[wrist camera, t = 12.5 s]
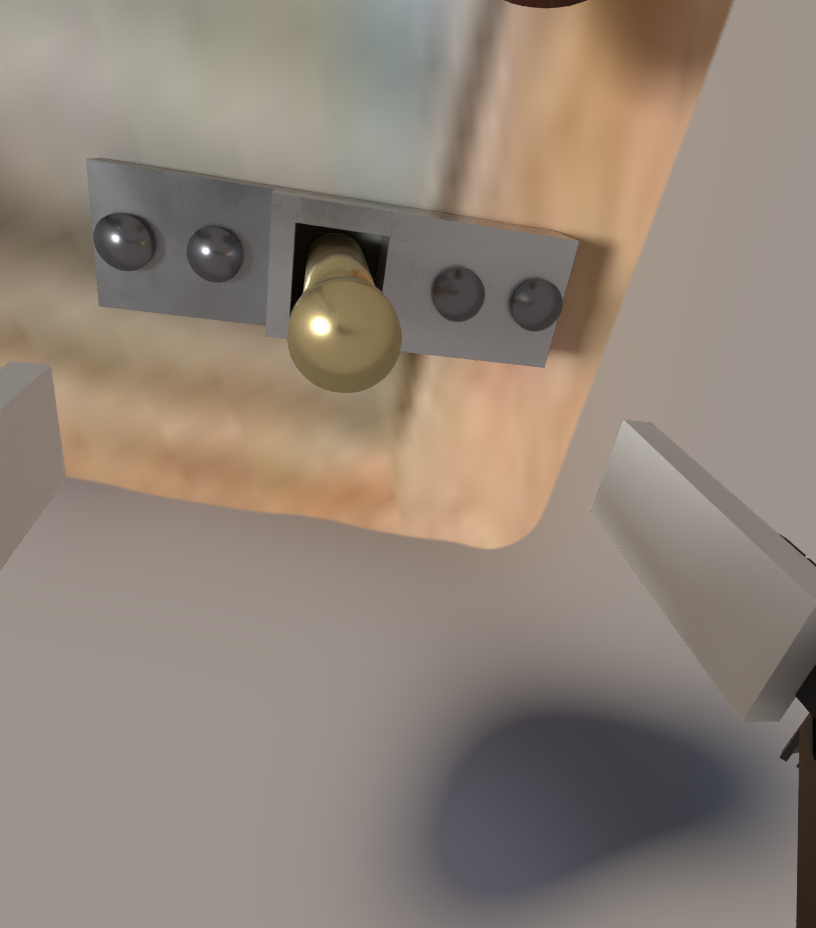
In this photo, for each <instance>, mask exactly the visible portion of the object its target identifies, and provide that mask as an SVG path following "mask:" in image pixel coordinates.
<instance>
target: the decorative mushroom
mask: <svg viewBox="0 0 816 928" xmlns="http://www.w3.org/2000/svg"><path fill="white" fill-rule="evenodd" d="M503 1H506V2H509V3H512V4H517V5H521V6H527V7H535V8H559V7H565V6H571V5H574V4H577V3H581V2H584V1H586V0H503Z"/></svg>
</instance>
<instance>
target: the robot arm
mask: <svg viewBox="0 0 816 928" xmlns="http://www.w3.org/2000/svg"><path fill="white" fill-rule="evenodd" d="M65 480H66V474H65V466H64V459H63V451H62V444H61V437H60V429H59V422H58V414H57V407H56V399H55V392H54V385H53V377H52V370H51V365H46V364H35V363H25V362H14V361H9V362H8V363H7V364H6V365H4V366H3V367H2V368H0V570H1V569H2V567H3V566H4V565H5V563H6V562H7V561H8V559H9V558H10V556H11V555H12V554H13V552H14V551H15V549H16V548H17V547H18V545H19V544H20V542H21V541H22V540H23V538H24V537H25V535H26V534H27V533H28V531H29V530H30V528H31V527H32V526H33V524H34V523H35V521H36V520H37V519H38V517H39V516H40V514H41V513H42V512H43V510H44V509H45V508H46V506H47V505H48V503H49V502H50V500H51V499H52V498H53V496H54V495H55V494H56V492H57V491H58V489H59V488H60V487H61V485H62V484H63V482H64V481H65ZM591 512H592V514H593V515H594V516H595V518H596V519H597V521H598V522H599V523H600V525H601V526H602V528H603V529H604V530H605V532H606V533H607V534H608V536H609V537H610V539H611V540H612V542H613V543H614V544H615V546H616V547H617V549H618V550H619V551H620V553H621V554H622V556H623V557H624V558H625V560H626V561H627V562H628V564H629V565H630V566H631V568H632V569H633V571H634V572H635V574H636V575H637V576H638V578H639V579H640V581H641V582H642V583H643V585H644V586H645V587H646V589H647V590H648V592H649V593H650V594H651V596H652V597H653V599H654V600H655V602H656V603H657V604H658V606H659V607H660V608H661V609H662V611H663V613H664V614H665V616H666V617H667V618H668V620H669V621H670V622H671V624H672V625H673V627H674V628H675V629H676V631H677V632H678V634H679V635H680V636H681V638H682V639H683V641H684V642H685V643H686V645H687V646H688V648H689V649H690V650H691V652H692V653H693V654H694V656H695V657H696V659H697V660H698V662H699V663H700V664H701V666H702V667H703V669H704V670H705V671H706V673H707V674H708V676H709V677H710V678H711V680H712V681H713V682H714V684H715V685H716V686H717V688H718V689H719V691H720V692H721V694H722V695H723V696H724V698H725V699H726V701H727V702H728V703H729V705H730V706H731V708H732V709H733V710H734V712H735V713H736V715H737V716H738V717H739V719H740V720H741V721H742V722H764V721H766V722H768V721H780V719H781V718H782V716H783V715H784V713H785V712H786V710H787V709H788V707H789V706H790V704H791V703H792V702H793V700H794V699H795V697H797V698H798V700H799V701H800V702H801V703H802V704H803V705H804V707H805V708H806V709H807V710H808V711H809V712H810V713H809V714H808V716H807V717H806V718H805V720H804V721H803V723H802V724H801V725H800V727H799V728H798V730H797V731H796V732H795V734H794V735H793V737H792V738H791V739H790V741H789V742H788V744H787V745H786V747H785V748H784V749H783V751H782V753H781V756H780V758H781V759H783V760H785V761H787V760H788V759H789V757H790V756H791V755H792V754H793V753H798V752H799V763H798V764H797V766H796V767H798V768H799V797H798V857H797V858H798V859H797V919H796V923H797V924H796V928H816V564H815V563H814V562H813V561H812V560H811V559H809V558H806V557H805V556H806V555H805V554H804V553H803V552H801V551H800V550H799V549H798V548H797V547H795V546H794V545H793V544H792V543H791V542H790V541H789V540H788V539H786V538H785V537H783V536H782V535H780V534H778V533H777V532H776V531H774V530H773V529H772V528H771V527H770V526H769V525H768V524H767V523H765V522H764V521H763V520H762V519H761V518H760V517H759V516H757V515H756V514H755V513H754V512H753V511H752V510H751V509H749V508H748V507H747V506H746V505H745V504H744V503H742V501H740V500H739V499H738V498H737V497H735V495H734V494H732V493H731V492H730V491H729V490H728V489H727V488H726V487H724V486H723V485H722V484H721V483H720V482H719V481H717V480H716V479H715V478H714V477H713V476H712V475H711V474H709V473H708V472H707V471H706V470H705V469H704V468H703V467H702V466H700V465H699V464H698V463H697V462H696V461H695V460H694V459H692V458H691V457H690V456H689V455H688V454H687V453H685V451H683V450H682V449H681V448H680V447H679V446H678V445H676V444H675V443H674V442H673V441H672V440H671V439H670V438H669V437H667V436H666V435H665V434H664V433H663V432H662V431H661V430H659V429H658V428H657V427H656V426H655V425H654V424H652V423H651V422H641V421H631V420H624V421H623V423H622V426H621V429H620V432H619V434H618V437H617V440H616V443H615V445H614V449H613V451H612V454H611V457H610V459H609V462H608V465H607V468H606V470H605V473H604V476H603V479H602V481H601V484H600V487H599V490H598V492H597V495H596V498H595V501H594V503H593V506H592V509H591Z"/></svg>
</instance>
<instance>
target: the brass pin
mask: <svg viewBox="0 0 816 928" xmlns="http://www.w3.org/2000/svg"><path fill="white" fill-rule="evenodd" d="M287 341H288V348H289V351H290V355H291V357H292V360H293V362H294V363H295V365H296V367H297V368H298V370H299V371H300V372H301V373H302V374H303V375H304V376H305V377H306V378H307V379H308V380H309V381H311V382H312V383H313V384H315V385H317V386H319V387H321V388H323V389H326V390H329V391H333V392H339V393H351V392H358V391H362V390H365V389H368V388H370V387H372V386H374V385H375V384H377V383H378V382H380V381H381V380H382V379H383V378H385V377H386V376H387V374H388V373H389V372H390V371H391V370H392V368H393V367H394V365H395V363H396V361H397V359H398V356H399V354H400V350H401V344H402V331H401V326H400V322H399V319H398V316H397V314H396V312H395V310H394V307H393V305H392V304H391V302H390V301H389V299H388V298H387V297H386V296H385V295H384V293H382V292H381V291H380V290H379V289H378V288H376V287H375V285H374V282H373V279H372V276H371V274H370V271H369V268H368V265H367V262H366V260H365V257H364V254H363V252H362V249H361V248H360V246H359V245H358V244H357V242H356V241H355V240H353V239H352V238H351V237H349V236H347V235H345V234H341V233H328V234H325V235H323V236H321V237H319V238H318V239H317V240H316V241H315V242H314V243H313V244H312V245H311V247H310V249H309V251H308V255H307V261H306V271H305V280H304V289H303V294H302V295H301V297H300V298H299V299H298V300H297V302H296V304H295V305H294V308H293V310H292V312H291V316H290V319H289V325H288V332H287Z"/></svg>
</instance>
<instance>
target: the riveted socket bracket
mask: <svg viewBox="0 0 816 928" xmlns="http://www.w3.org/2000/svg"><path fill="white" fill-rule="evenodd" d="M86 163H87V174H88V186H89V197H90V208H91V220H92V231H93V243H94V254H95V265H96V277H97V288H98V300H99V306H101V307H110V308H119V309H127V310H136V311H145V312H153V313H162V314H170V315H179V316H188V317H196V318H205V319H213V320H222V321H231V322H239V323H248V324H256V325H265V326H266V336H268V337H277V338H286V339H287V332H288V325H289V319H290V316H291V312H292V310H293V308H294V305H295V304H296V302H297V300H295V299H292V297H293V282H294V266H295V251H296V236H297V223H303V224H309V225H316V226H323V227H329V228H336V229H343V230H349V231H356V232H363V233H369V234H376V235H382V236H381V243H380V251H379V259H378V267H377V275H376V282H375V287H376V288H378V289H379V290H380V291H381V292H382V293H384V295H385V296H386V297H387V298H388V299H389V301H390V302H391V304H392V305H393V307H394V310H395V312H396V314H397V316H398V319H399V322H400V326H401V331H402V344H401V350H400V351H401V352H410V353H418V354H427V355H436V356H445V357H454V358H463V359H472V360H480V361H489V362H498V363H507V364H516V365H525V366H533V367H542V368H544V367H545V363H546V360H547V356H548V353H549V349H550V345H551V342H552V338H553V335H554V331H555V327H556V324H557V320H558V317H559V315H560V313H561V310H562V302H563V299H564V295H565V291H566V288H567V284H568V281H569V277H570V273H571V270H572V266H573V263H574V259H575V256H576V252H577V248H578V245H579V241H578V240H576V239H573V238H571V237H568V236H566V235H563V234H561V233H559V232H556V231H553V230H547V229H541V228H535V227H528V226H522V225H516V224H510V223H504V222H497V221H491V220H485V219H479V218H472V217H466V216H460V215H454V214H447V213H441V212H435V211H429V210H422V209H416V208H410V207H404V206H397V205H391V204H385V203H379V202H372V201H366V200H360V199H354V198H348V197H341V196H335V195H329V194H323V193H316V192H310V191H304V190H298V189H291V188H285V187H279V186H273V185H266V184H260V183H254V182H248V181H241V180H235V179H229V178H223V177H216V176H210V175H204V174H198V173H192V172H185V171H179V170H173V169H167V168H160V167H154V166H148V165H142V164H135V163H129V162H123V161H117V160H110V159H104V158H92V159H86Z"/></svg>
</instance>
